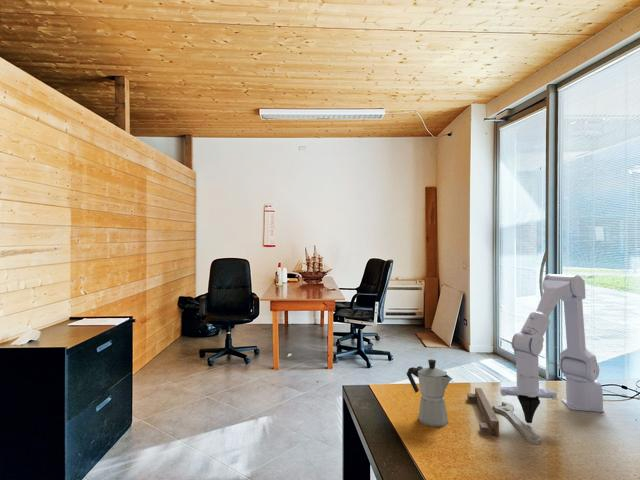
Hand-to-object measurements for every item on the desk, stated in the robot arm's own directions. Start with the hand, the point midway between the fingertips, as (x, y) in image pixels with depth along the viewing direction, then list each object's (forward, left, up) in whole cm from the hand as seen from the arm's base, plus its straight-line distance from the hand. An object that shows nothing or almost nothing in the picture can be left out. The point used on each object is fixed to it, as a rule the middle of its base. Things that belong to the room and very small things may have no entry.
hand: (528, 421), depth 113 cm
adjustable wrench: (+4, -1, -2) cm, 4 cm away
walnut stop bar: (+12, -4, -1) cm, 13 cm away
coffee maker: (+28, +2, -1) cm, 28 cm away
